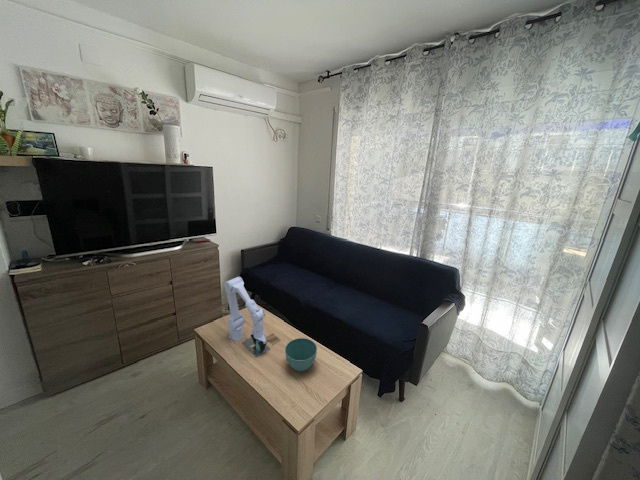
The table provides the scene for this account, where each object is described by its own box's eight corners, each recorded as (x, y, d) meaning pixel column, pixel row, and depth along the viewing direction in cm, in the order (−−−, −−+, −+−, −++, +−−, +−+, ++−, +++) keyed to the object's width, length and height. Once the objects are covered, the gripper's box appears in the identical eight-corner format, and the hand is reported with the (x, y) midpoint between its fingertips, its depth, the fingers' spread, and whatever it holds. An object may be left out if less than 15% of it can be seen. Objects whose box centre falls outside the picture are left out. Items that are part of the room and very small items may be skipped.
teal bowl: (310, 382, 133) (310, 364, 129) (279, 373, 138) (279, 355, 134) (320, 358, 150) (320, 341, 146) (292, 351, 155) (292, 335, 151)
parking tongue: (264, 339, 164) (264, 338, 164) (272, 335, 169) (272, 333, 169) (272, 347, 158) (272, 345, 157) (281, 342, 162) (281, 340, 162)
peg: (255, 351, 154) (254, 340, 152) (260, 348, 157) (260, 337, 154) (258, 354, 151) (258, 344, 149) (264, 351, 154) (263, 341, 152)
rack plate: (242, 345, 159) (242, 341, 158) (256, 338, 166) (256, 334, 165) (256, 359, 147) (256, 355, 147) (270, 351, 154) (270, 347, 153)
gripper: (270, 331, 147) (271, 350, 151) (258, 320, 157) (258, 338, 161) (260, 336, 142) (261, 356, 146) (247, 325, 152) (249, 343, 156)
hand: (259, 347), depth 153 cm, fingers open, 7 cm apart
